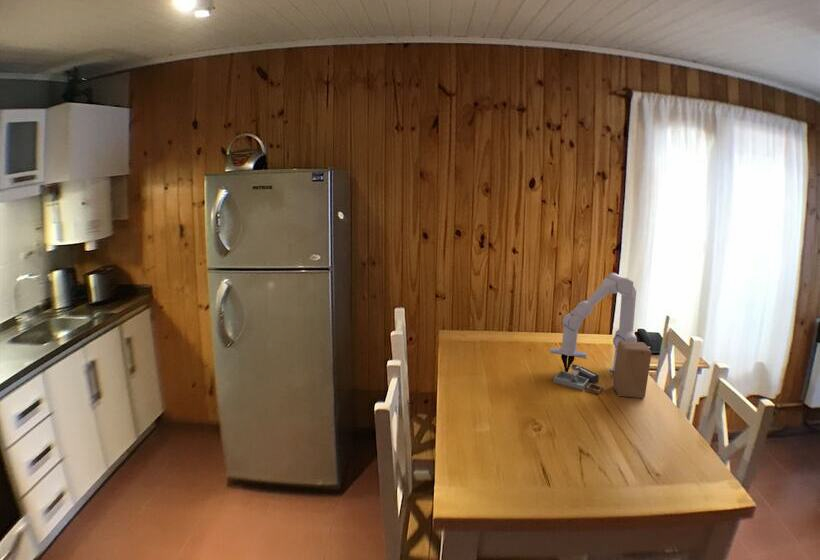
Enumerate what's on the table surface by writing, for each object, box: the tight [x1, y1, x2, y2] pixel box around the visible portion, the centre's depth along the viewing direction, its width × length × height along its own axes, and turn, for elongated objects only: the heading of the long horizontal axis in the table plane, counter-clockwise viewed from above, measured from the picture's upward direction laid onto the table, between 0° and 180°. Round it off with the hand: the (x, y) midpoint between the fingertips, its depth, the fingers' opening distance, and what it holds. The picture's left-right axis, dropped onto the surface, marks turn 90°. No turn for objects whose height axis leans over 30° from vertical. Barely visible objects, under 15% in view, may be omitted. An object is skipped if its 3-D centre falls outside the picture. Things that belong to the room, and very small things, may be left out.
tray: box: [552, 370, 589, 392], centre depth 185 cm, size 12×8×2 cm
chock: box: [579, 366, 600, 385], centre depth 189 cm, size 9×4×4 cm, turn 27°
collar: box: [585, 383, 604, 395], centre depth 180 cm, size 5×5×2 cm
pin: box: [570, 364, 581, 384], centre depth 184 cm, size 3×3×7 cm
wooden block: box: [612, 341, 652, 399], centre depth 176 cm, size 10×10×20 cm
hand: (566, 371), depth 194 cm, fingers closed
